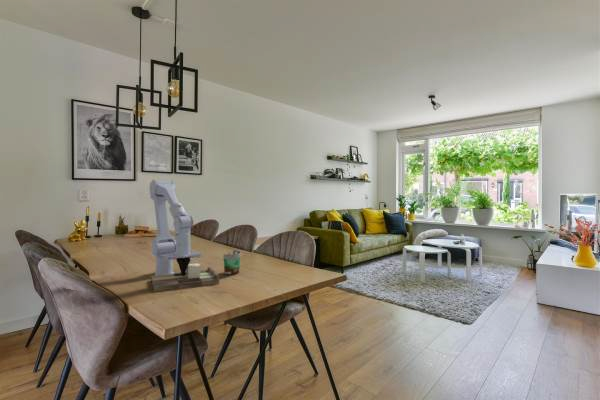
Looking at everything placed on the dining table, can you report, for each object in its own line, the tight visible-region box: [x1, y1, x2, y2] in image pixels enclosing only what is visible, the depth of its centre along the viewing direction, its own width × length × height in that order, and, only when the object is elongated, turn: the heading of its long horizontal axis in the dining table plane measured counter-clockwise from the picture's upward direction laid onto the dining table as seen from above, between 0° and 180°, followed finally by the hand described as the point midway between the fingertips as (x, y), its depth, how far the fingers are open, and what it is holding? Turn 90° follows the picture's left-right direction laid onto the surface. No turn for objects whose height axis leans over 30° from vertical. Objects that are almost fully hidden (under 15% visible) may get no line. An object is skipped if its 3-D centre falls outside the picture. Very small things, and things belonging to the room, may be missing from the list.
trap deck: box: [150, 266, 220, 293], centre depth 135 cm, size 18×25×4 cm
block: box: [186, 263, 202, 278], centre depth 136 cm, size 5×5×5 cm
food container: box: [222, 249, 243, 276], centre depth 150 cm, size 12×6×10 cm, turn 168°
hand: (183, 275), depth 134 cm, fingers closed
